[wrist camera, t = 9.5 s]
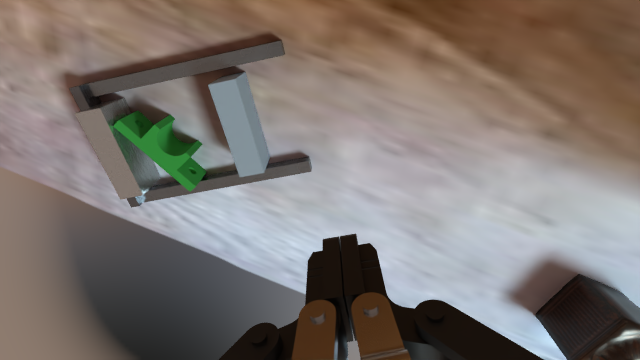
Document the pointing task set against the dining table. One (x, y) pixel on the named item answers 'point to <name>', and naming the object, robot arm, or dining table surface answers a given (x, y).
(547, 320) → the manual coffee grinder
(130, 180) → the vise
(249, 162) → the block
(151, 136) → the pipe clamp
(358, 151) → the dining table surface
